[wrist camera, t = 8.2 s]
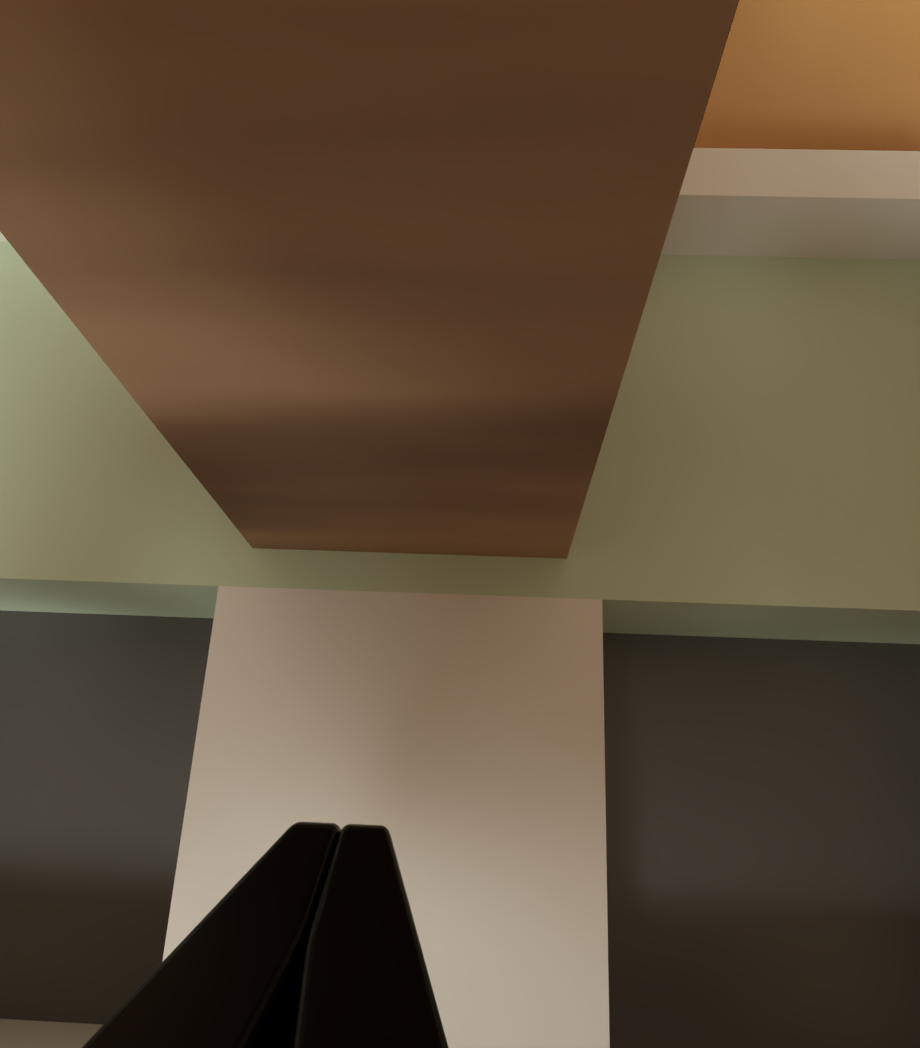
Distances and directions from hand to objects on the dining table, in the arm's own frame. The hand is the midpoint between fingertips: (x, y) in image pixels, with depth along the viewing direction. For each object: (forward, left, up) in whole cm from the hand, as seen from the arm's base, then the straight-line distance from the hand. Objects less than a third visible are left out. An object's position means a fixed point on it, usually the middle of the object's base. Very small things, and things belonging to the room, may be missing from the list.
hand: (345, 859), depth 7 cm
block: (+6, +2, -4) cm, 8 cm away
